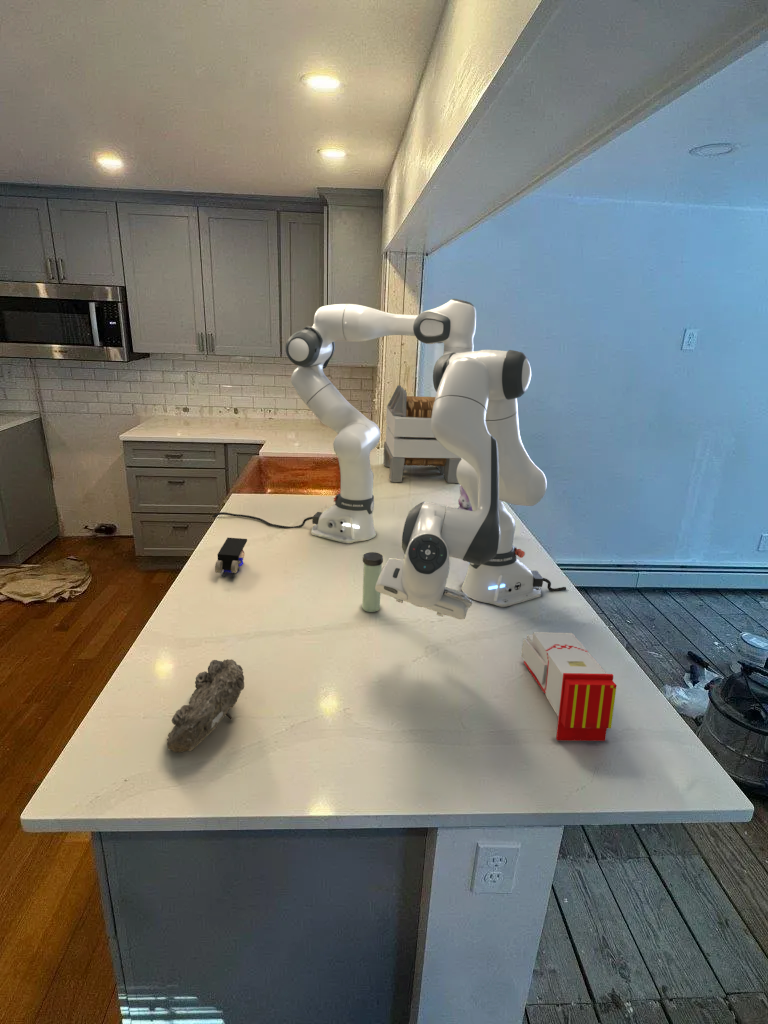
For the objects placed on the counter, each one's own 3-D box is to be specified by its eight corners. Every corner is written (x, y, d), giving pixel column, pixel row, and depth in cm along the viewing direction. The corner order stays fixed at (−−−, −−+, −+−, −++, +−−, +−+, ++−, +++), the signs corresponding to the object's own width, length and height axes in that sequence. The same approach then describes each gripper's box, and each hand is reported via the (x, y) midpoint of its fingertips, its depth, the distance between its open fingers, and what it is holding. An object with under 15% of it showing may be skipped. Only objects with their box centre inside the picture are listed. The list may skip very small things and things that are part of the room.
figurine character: (238, 584, 162) (249, 557, 175) (236, 562, 158) (247, 536, 172) (215, 584, 161) (227, 556, 175) (212, 561, 158) (225, 535, 171)
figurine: (462, 530, 205) (466, 491, 200) (446, 521, 213) (450, 483, 208) (483, 527, 209) (487, 488, 204) (467, 518, 218) (471, 480, 213)
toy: (568, 616, 131) (626, 681, 101) (562, 669, 133) (617, 748, 104) (515, 615, 130) (559, 680, 101) (511, 669, 133) (551, 747, 104)
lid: (371, 567, 142) (371, 562, 142) (358, 560, 146) (358, 554, 145) (387, 562, 145) (387, 557, 145) (374, 555, 149) (374, 550, 148)
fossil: (192, 660, 117) (244, 628, 112) (224, 691, 120) (276, 661, 115) (142, 746, 98) (202, 712, 93) (182, 779, 101) (242, 748, 96)
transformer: (382, 463, 289) (386, 382, 275) (445, 464, 293) (451, 384, 279) (390, 482, 257) (394, 392, 243) (460, 483, 261) (468, 394, 247)
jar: (369, 613, 147) (371, 563, 142) (358, 606, 150) (360, 556, 145) (383, 608, 150) (385, 558, 145) (372, 601, 153) (374, 552, 148)
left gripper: (453, 354, 180) (449, 398, 185) (441, 358, 161) (437, 407, 166) (473, 355, 178) (468, 399, 183) (463, 360, 160) (459, 409, 164)
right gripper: (477, 586, 114) (469, 608, 126) (381, 555, 117) (382, 579, 130) (469, 614, 111) (461, 634, 123) (371, 582, 115) (373, 604, 127)
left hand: (454, 403), depth 174 cm, fingers open, 8 cm apart
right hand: (420, 605), depth 127 cm, fingers open, 8 cm apart
